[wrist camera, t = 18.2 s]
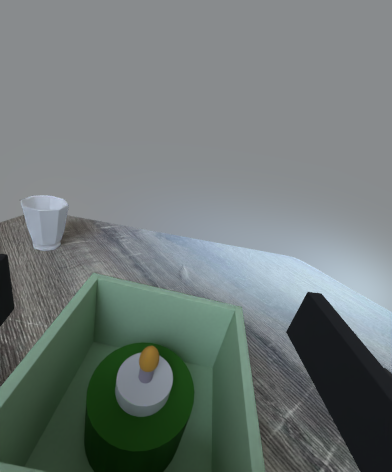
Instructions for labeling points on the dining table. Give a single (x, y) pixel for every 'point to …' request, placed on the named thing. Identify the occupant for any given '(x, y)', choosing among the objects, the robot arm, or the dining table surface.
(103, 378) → the candle
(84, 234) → the dining table surface
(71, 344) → the bin
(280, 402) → the dining table surface
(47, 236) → the cup
